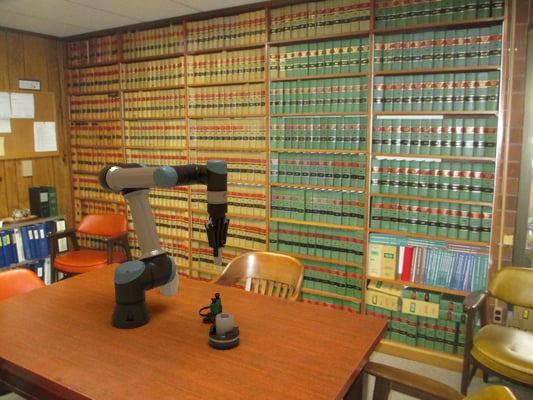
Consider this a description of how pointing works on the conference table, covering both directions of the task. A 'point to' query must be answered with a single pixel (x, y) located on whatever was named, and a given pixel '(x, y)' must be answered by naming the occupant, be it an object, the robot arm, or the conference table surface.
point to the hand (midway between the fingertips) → (217, 264)
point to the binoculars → (212, 309)
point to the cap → (224, 323)
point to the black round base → (224, 339)
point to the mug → (170, 287)
